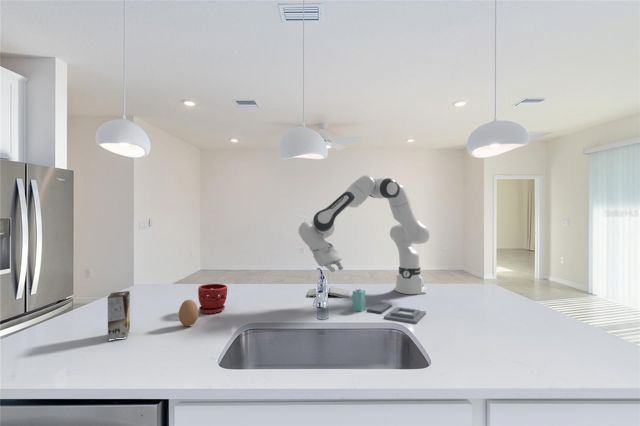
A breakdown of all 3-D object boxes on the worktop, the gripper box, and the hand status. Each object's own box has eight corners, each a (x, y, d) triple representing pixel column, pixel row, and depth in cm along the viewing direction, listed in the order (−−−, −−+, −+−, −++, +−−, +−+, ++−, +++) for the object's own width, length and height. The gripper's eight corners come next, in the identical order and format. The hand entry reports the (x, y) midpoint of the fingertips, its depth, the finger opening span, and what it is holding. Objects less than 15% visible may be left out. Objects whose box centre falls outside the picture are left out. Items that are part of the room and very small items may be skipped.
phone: (367, 311, 160) (367, 309, 160) (378, 304, 172) (378, 302, 172) (381, 313, 157) (381, 311, 157) (391, 306, 169) (391, 304, 169)
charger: (356, 308, 167) (356, 288, 167) (365, 309, 164) (365, 289, 164) (352, 310, 163) (352, 290, 163) (361, 311, 160) (361, 291, 160)
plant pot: (205, 317, 154) (205, 290, 154) (194, 310, 164) (193, 285, 164) (232, 311, 162) (232, 286, 162) (219, 305, 172) (219, 281, 172)
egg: (174, 328, 139) (174, 301, 139) (187, 322, 147) (187, 296, 147) (189, 330, 137) (189, 302, 137) (202, 324, 144) (202, 298, 144)
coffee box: (127, 339, 127) (127, 295, 127) (107, 341, 125) (106, 297, 125) (130, 331, 136) (129, 290, 136) (111, 333, 133) (111, 292, 133)
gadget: (348, 292, 202) (348, 286, 202) (348, 298, 187) (348, 292, 187) (309, 292, 203) (309, 285, 203) (307, 298, 188) (307, 291, 188)
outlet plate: (395, 309, 164) (395, 304, 164) (425, 313, 156) (425, 309, 156) (384, 318, 150) (383, 313, 150) (416, 323, 143) (416, 318, 143)
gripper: (315, 245, 163) (333, 268, 158) (333, 244, 181) (350, 264, 177) (306, 254, 165) (324, 277, 160) (325, 251, 183) (341, 272, 178)
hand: (337, 270), depth 169 cm, fingers open, 8 cm apart
